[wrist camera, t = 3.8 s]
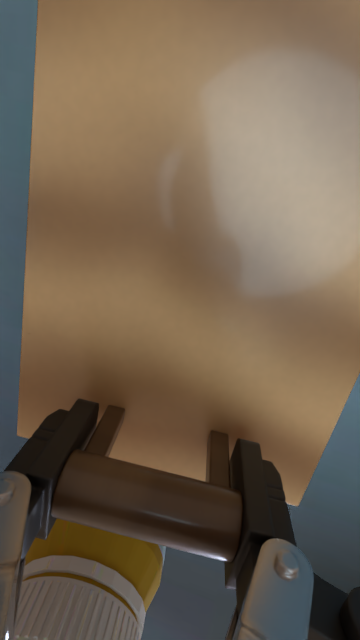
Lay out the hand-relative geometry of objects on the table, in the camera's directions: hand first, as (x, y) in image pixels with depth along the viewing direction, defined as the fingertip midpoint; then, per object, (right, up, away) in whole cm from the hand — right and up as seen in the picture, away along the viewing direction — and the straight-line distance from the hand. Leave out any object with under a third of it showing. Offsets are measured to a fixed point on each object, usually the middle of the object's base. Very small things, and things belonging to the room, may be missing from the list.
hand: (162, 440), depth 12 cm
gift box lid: (+1, +6, -1) cm, 6 cm away
